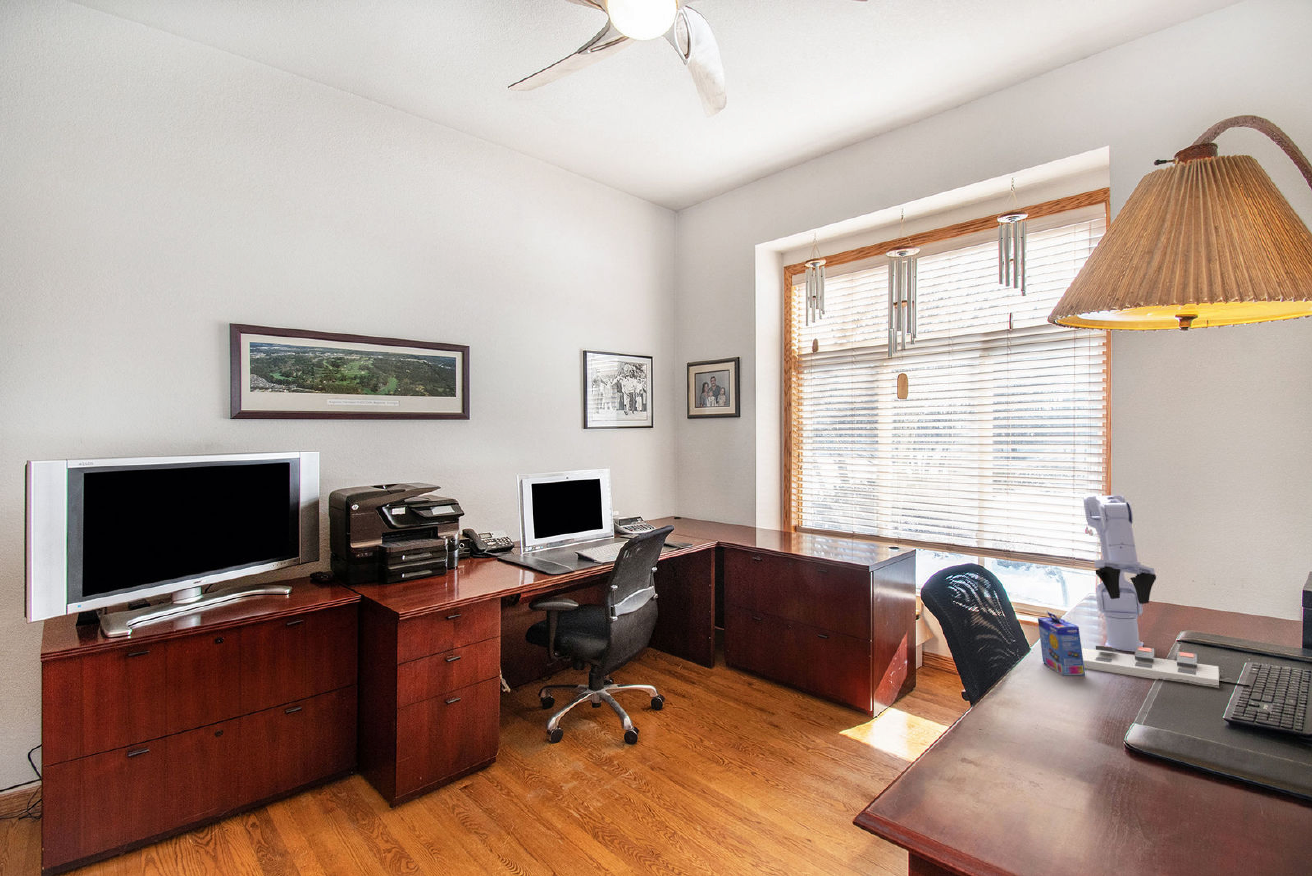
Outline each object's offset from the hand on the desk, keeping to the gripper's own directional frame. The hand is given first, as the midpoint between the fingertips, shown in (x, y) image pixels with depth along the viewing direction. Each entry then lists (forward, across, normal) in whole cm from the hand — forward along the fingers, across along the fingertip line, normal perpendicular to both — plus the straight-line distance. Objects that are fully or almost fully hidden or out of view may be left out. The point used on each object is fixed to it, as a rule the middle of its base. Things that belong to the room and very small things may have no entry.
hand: (1129, 600), depth 146 cm
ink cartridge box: (+18, -9, +14) cm, 24 cm away
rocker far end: (+11, +4, +14) cm, 18 cm away
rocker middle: (+12, +9, +8) cm, 17 cm away
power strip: (+15, +10, +5) cm, 19 cm away
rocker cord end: (+12, +14, +2) cm, 19 cm away
